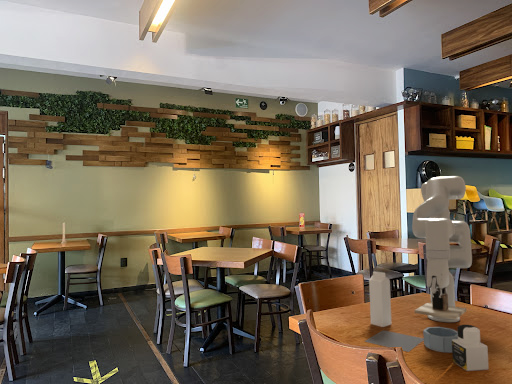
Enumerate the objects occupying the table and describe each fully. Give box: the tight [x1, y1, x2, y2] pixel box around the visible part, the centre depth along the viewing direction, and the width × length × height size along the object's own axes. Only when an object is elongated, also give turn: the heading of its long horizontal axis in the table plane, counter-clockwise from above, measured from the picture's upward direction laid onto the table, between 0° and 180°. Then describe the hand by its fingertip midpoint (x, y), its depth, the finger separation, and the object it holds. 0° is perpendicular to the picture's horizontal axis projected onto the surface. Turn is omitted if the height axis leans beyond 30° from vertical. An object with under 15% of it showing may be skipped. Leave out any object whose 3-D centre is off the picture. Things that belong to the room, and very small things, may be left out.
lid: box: [414, 294, 467, 320], centre depth 132 cm, size 13×13×6 cm
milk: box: [368, 271, 392, 328], centre depth 159 cm, size 6×6×22 cm
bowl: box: [422, 326, 458, 353], centre depth 132 cm, size 11×11×6 cm
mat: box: [364, 329, 424, 353], centre depth 139 cm, size 16×16×1 cm
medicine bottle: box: [451, 324, 490, 372], centre depth 117 cm, size 7×7×12 cm
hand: (440, 307), depth 132 cm, fingers closed on lid, 4 cm apart
